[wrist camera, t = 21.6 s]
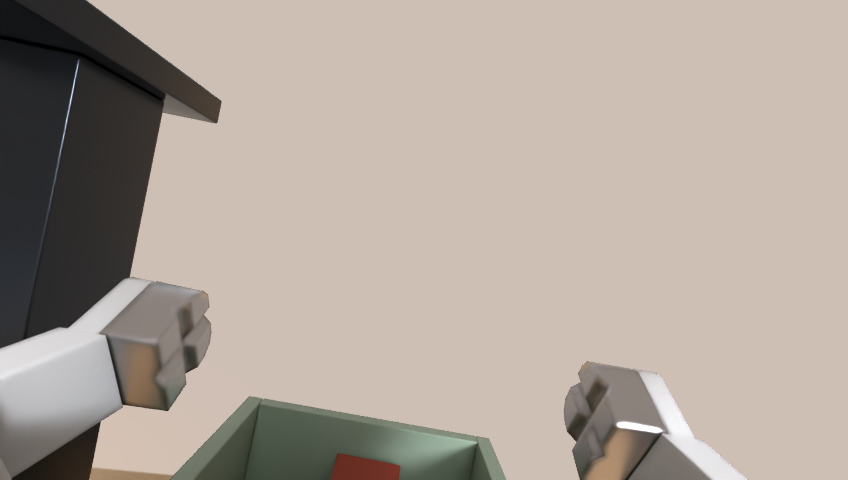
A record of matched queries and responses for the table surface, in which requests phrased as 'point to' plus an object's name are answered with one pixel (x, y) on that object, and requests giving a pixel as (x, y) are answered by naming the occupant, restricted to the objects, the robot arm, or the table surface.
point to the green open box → (332, 447)
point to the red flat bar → (363, 469)
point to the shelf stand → (75, 170)
